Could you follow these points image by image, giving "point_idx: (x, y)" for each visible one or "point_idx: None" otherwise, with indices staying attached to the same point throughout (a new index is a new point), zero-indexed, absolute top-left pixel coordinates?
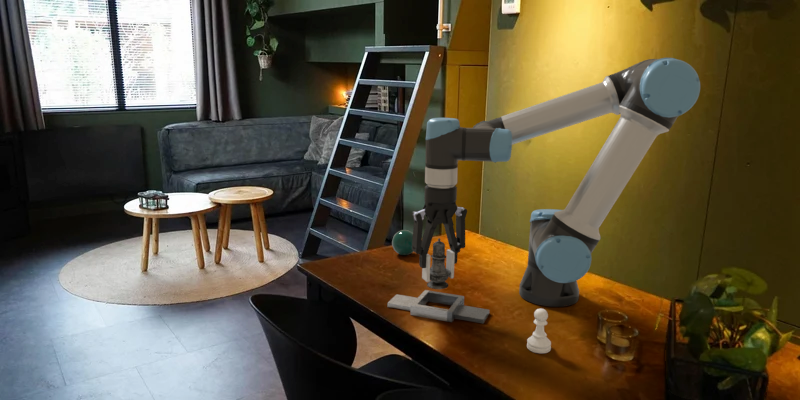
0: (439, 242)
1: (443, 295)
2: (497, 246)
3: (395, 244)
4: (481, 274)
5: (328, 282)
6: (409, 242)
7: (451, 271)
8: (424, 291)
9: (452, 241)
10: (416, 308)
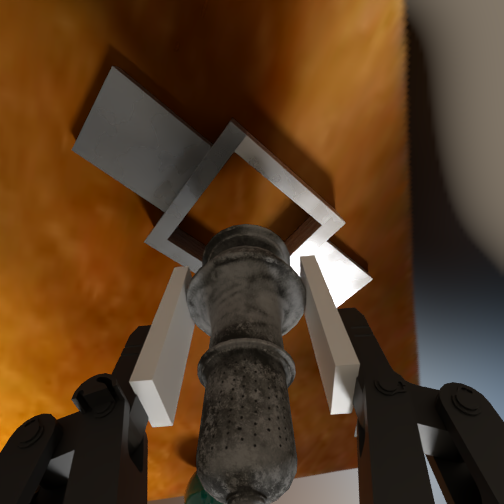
0: (250, 494)
1: None
2: None
3: None
4: (62, 375)
5: None
6: (206, 496)
7: (180, 287)
8: None
9: (113, 496)
10: (329, 207)
